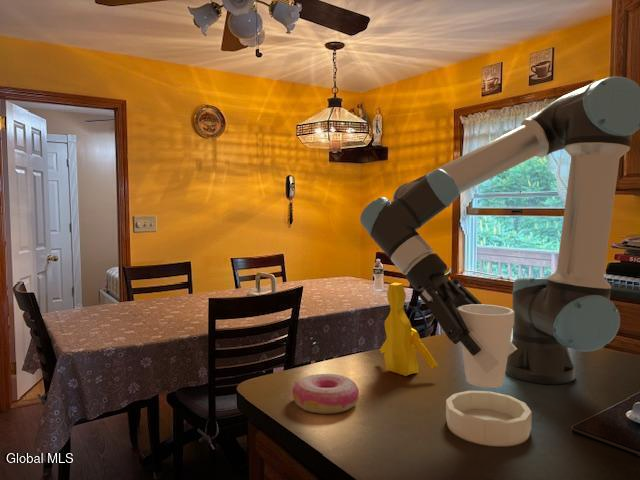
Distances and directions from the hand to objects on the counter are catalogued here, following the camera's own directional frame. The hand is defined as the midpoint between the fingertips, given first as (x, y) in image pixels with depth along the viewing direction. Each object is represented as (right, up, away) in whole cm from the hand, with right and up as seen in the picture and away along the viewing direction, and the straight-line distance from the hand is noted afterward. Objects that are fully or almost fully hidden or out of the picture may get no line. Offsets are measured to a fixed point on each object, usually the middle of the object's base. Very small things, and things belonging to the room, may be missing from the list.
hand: (502, 360), depth 83 cm
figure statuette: (-12, -11, +32) cm, 36 cm away
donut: (-31, -13, +14) cm, 36 cm away
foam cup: (-2, -4, +2) cm, 5 cm away
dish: (-2, -13, +3) cm, 13 cm away
